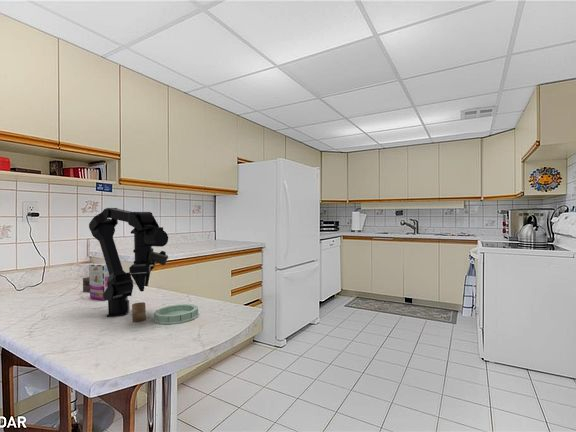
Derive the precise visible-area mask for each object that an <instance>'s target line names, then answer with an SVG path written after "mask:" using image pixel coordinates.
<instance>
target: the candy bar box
mask: <svg viewBox="0 0 576 432" xmlns="http://www.w3.org/2000/svg"><path fill="white" fill-rule="evenodd" d="M88 268H89V269H88V270H89V272H88V273H89V276H88V277H90V292H89V299H90V300H94V301H95V300H96V301H104V302H105V301H106V300H104V298H103V294H104V292H105V290H106V289H107V281H108V278H109V272H108V269H107V265H106V263H91V264H89V265H88Z"/></svg>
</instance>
